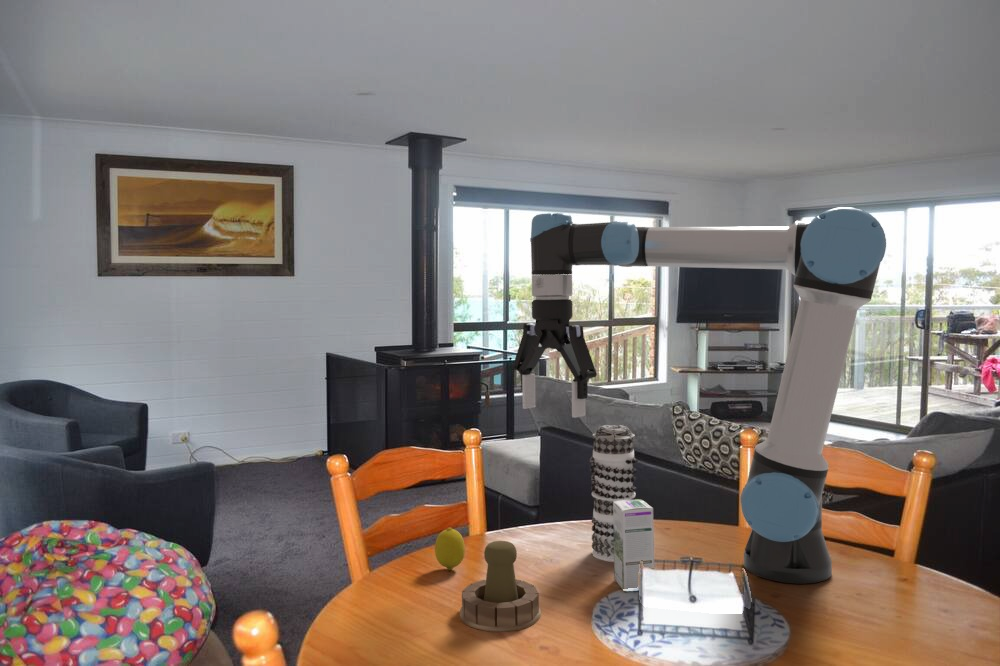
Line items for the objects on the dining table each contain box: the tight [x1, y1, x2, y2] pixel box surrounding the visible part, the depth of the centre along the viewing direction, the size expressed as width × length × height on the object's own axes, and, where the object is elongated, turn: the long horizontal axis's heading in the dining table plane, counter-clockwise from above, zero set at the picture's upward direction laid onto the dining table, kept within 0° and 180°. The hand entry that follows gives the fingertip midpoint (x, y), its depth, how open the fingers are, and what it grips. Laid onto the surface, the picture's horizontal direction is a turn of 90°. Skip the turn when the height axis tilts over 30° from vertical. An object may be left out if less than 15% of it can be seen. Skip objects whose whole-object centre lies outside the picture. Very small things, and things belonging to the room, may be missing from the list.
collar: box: [459, 578, 542, 633], centre depth 124 cm, size 13×13×4 cm
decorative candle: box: [589, 424, 639, 563], centre depth 150 cm, size 9×9×25 cm
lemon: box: [434, 527, 466, 571], centre depth 144 cm, size 6×6×8 cm
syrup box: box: [613, 498, 655, 590], centre depth 135 cm, size 6×6×14 cm
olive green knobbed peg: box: [483, 540, 518, 603], centre depth 124 cm, size 6×6×11 cm
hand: (553, 412), depth 145 cm, fingers open, 13 cm apart
